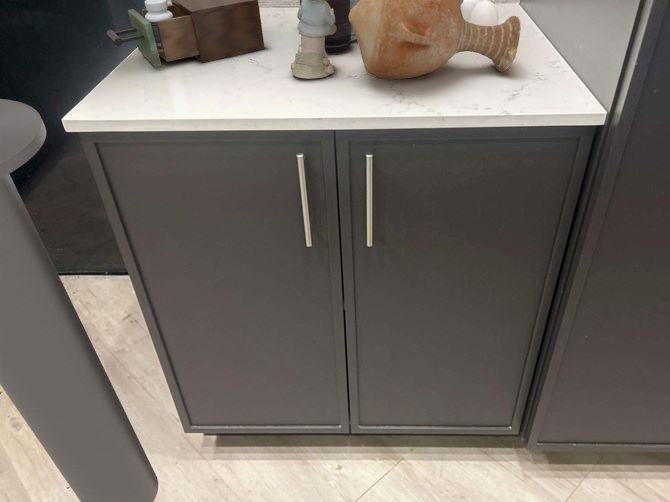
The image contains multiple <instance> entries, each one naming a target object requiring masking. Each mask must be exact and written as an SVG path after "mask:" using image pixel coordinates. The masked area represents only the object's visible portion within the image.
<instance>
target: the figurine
mask: <svg viewBox="0 0 670 502" xmlns="http://www.w3.org/2000/svg"><path fill="white" fill-rule="evenodd" d="M296 14H297V15H296V17H297V19H298V20H299V21H298V23H297V29H298V33H299V35H300V44H299V45H298V49H297V52H296V53H295V57H294V61H293V62H292V63H290V71H291V74H292V75H293V76H295V77H296V78H299V79H310V80H311V79H319V78H320V79H321V78H325V77H328V76H330V75H332V74H334V71H335V70H334V66H333V64H331V63H330V59H329V57H328V54H327V53H326V51H325V47H324V44H325V36H327V35H332V34H334V33H335V31H336V26H335V24H334V23H335V16H334V10H333V9H332V8H330V6H329V4H328V3H327V2H326V1H325V0H302V3H301V5H300V4H299V8H298V10H297V13H296Z"/></svg>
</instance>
